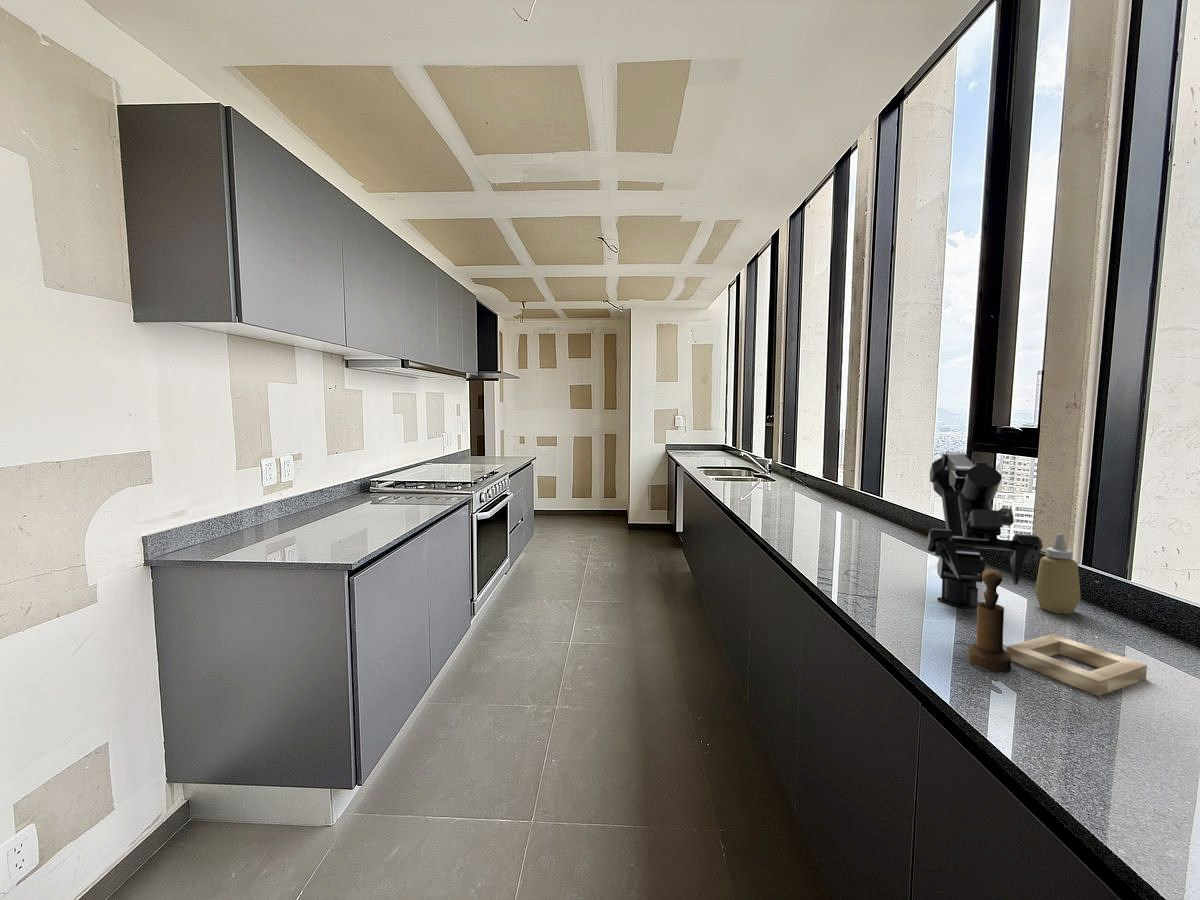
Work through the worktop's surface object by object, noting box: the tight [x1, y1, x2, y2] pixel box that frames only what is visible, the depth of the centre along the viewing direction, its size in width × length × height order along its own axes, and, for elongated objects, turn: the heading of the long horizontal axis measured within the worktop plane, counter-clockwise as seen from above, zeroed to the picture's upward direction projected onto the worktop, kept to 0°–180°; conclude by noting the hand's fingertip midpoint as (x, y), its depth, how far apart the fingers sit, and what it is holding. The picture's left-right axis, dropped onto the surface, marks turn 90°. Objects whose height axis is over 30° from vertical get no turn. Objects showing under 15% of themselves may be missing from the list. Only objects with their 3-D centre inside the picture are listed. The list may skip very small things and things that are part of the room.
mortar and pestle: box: [967, 568, 1012, 673], centre depth 97 cm, size 7×6×18 cm
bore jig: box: [1006, 633, 1148, 697], centre depth 95 cm, size 14×14×2 cm
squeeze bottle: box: [1034, 533, 1082, 615], centre depth 121 cm, size 8×8×18 cm
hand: (987, 581), depth 103 cm, fingers open, 9 cm apart
